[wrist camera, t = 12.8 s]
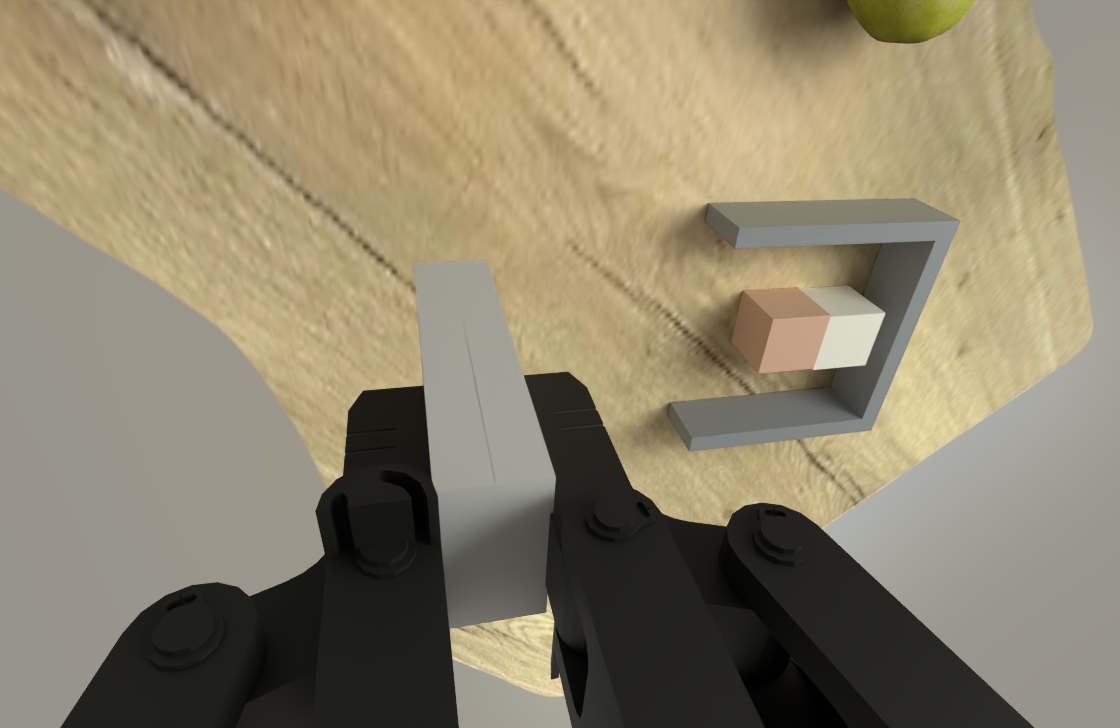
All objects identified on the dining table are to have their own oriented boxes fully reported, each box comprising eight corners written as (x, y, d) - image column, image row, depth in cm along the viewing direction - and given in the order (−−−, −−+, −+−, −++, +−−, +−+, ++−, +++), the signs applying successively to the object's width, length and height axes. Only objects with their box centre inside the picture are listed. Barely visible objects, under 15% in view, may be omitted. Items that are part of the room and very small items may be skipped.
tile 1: (742, 289, 51) (773, 319, 47) (796, 286, 52) (830, 315, 48) (730, 341, 54) (758, 373, 50) (781, 337, 55) (813, 368, 51)
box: (708, 203, 46) (739, 228, 42) (914, 198, 50) (960, 220, 46) (667, 415, 57) (689, 451, 53) (839, 398, 61) (871, 430, 57)
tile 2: (796, 288, 53) (830, 316, 49) (848, 285, 54) (885, 312, 50) (781, 338, 55) (812, 369, 51) (830, 335, 56) (865, 365, 52)
